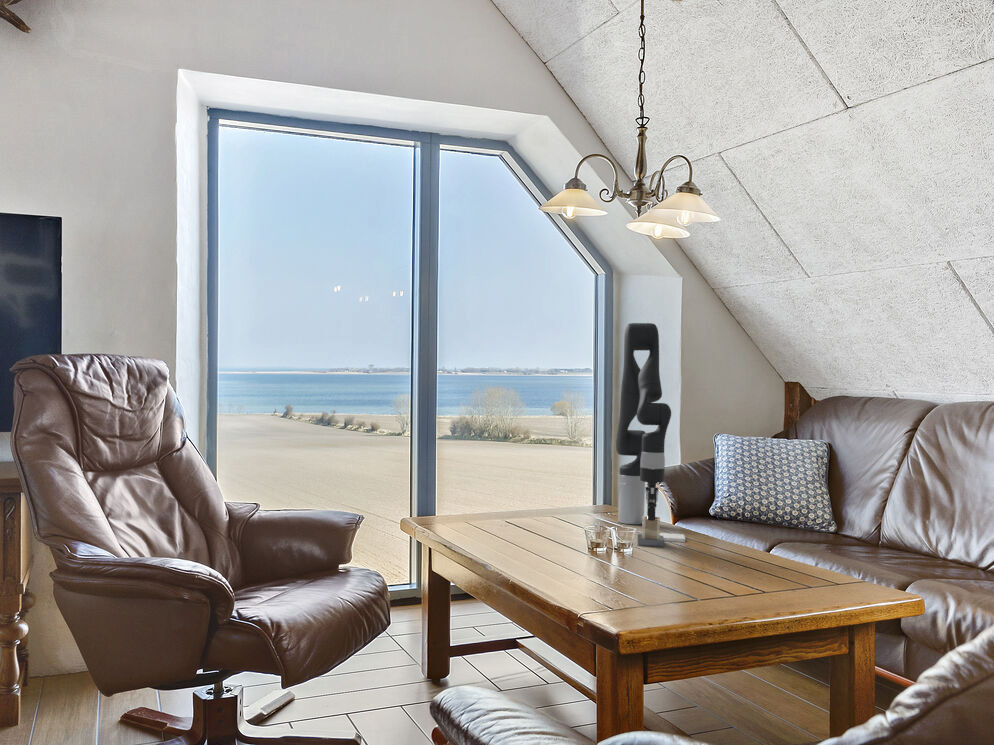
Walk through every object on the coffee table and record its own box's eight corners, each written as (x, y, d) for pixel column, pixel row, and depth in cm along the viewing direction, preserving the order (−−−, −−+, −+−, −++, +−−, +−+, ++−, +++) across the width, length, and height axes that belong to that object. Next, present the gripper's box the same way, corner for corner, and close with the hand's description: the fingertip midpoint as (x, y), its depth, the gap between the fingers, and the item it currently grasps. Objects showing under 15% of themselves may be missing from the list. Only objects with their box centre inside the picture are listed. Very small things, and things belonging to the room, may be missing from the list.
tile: (658, 535, 272) (658, 532, 272) (683, 537, 270) (683, 534, 270) (659, 540, 264) (659, 537, 264) (685, 542, 262) (685, 538, 262)
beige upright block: (642, 535, 261) (642, 516, 261) (658, 536, 260) (659, 517, 260) (642, 538, 256) (642, 519, 256) (659, 539, 255) (659, 519, 255)
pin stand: (637, 540, 263) (638, 513, 263) (662, 541, 262) (663, 515, 262) (637, 545, 255) (638, 517, 255) (663, 546, 254) (664, 519, 254)
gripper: (640, 463, 266) (638, 514, 266) (640, 468, 252) (639, 521, 252) (663, 465, 265) (662, 515, 264) (665, 469, 251) (664, 522, 250)
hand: (651, 518), depth 258 cm, fingers open, 8 cm apart
